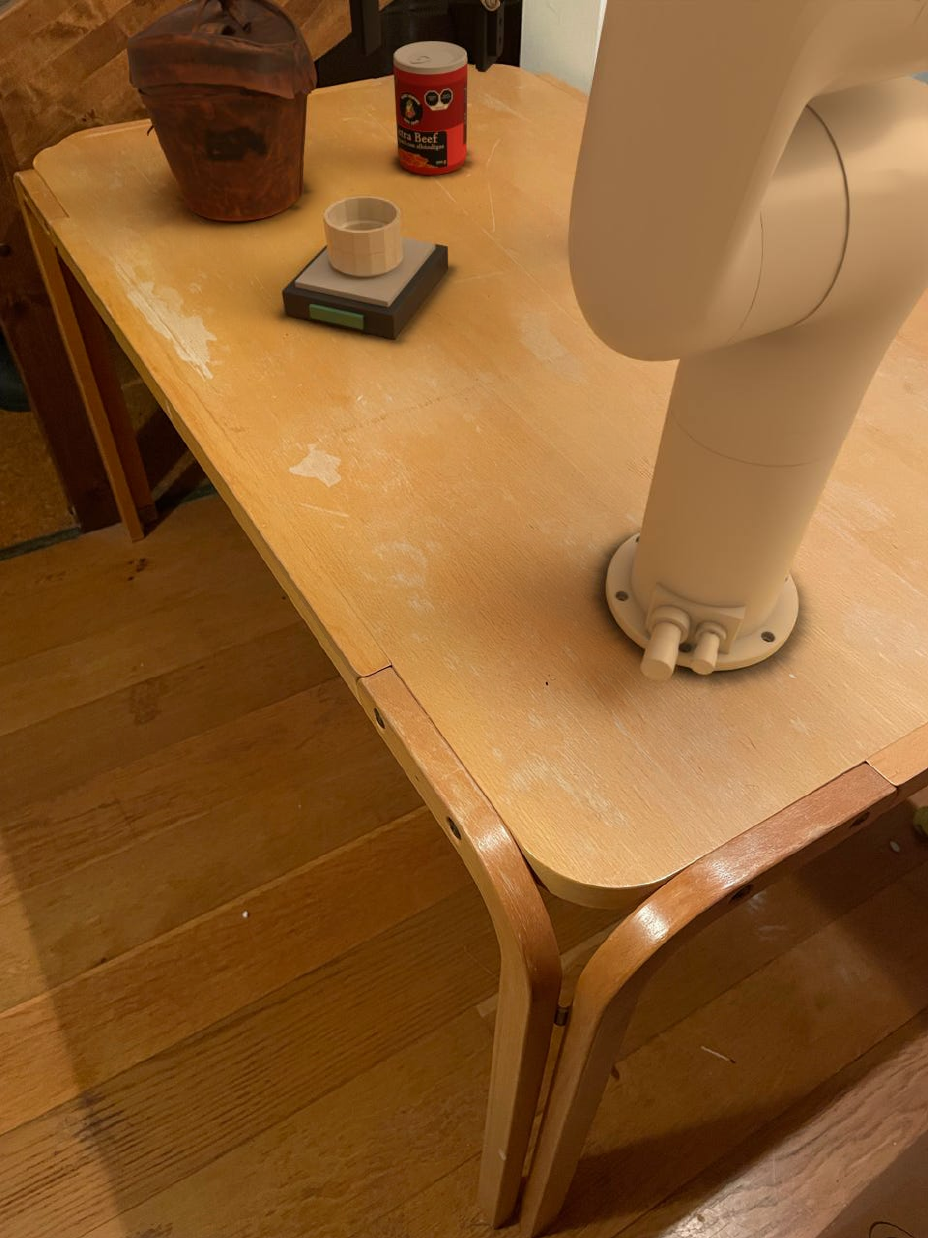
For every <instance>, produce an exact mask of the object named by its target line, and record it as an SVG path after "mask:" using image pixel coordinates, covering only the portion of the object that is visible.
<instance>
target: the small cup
mask: <svg viewBox="0 0 928 1238" xmlns="http://www.w3.org/2000/svg"><path fill="white" fill-rule="evenodd" d="M323 226H324V233H325V242H326V245H327V252H328V260H329V262H330V263H331V265H332V266H333V267H334V268H336V269H337V270H339V271H341V272H343V273H345V274H348V275H350V276H355V277H374V276H379V275H382V274H385V273H387V272H389V271H390V270H392V269H394V268H396V267H397V266H398V265H399V263H400V262H401V261H402V260H403V240H402V237H403V223H402V209H401V208H400V207H399V206H398V204H397V203H395V202H394V201H391V200H389V199H387V198H385V197H380V196H376V195H375V196H374V195H354V196H349V197H345V198H340V199H339V200H337V201H335V202H332V203H331V204H330V205H328V206H327V207H326V208H325V210H324V211H323Z"/></svg>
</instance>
